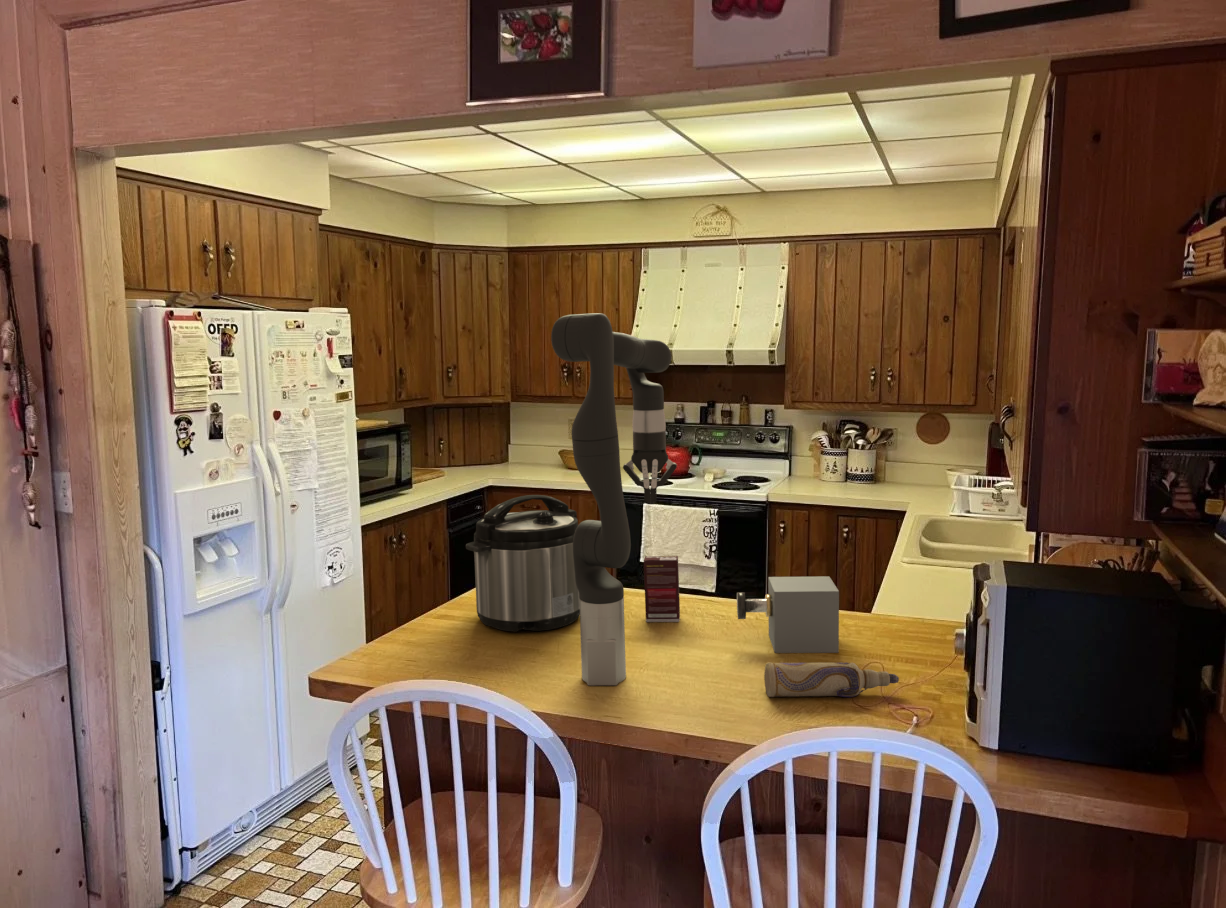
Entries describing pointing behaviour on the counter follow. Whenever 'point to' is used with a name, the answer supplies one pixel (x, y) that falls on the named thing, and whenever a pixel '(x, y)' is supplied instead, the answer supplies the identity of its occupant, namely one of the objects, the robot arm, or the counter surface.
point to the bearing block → (804, 615)
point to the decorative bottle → (822, 679)
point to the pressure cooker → (526, 566)
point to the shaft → (753, 605)
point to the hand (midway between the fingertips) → (650, 503)
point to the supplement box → (661, 589)
